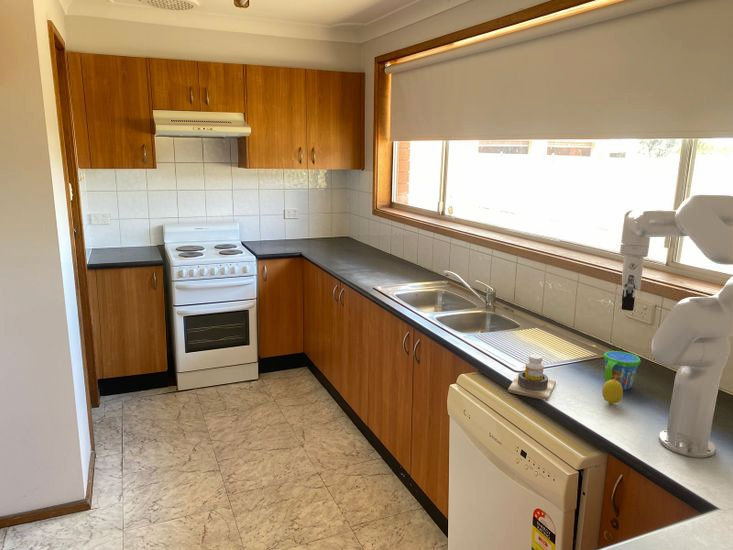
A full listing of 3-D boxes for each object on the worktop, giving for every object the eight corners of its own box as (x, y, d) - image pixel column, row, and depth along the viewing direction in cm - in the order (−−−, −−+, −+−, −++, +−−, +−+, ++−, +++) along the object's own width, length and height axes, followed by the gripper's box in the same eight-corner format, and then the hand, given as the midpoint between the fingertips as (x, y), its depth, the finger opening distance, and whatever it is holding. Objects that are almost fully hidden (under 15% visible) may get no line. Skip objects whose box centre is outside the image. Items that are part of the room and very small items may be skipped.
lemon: (624, 404, 165) (627, 379, 164) (616, 410, 162) (619, 384, 160) (605, 398, 169) (608, 374, 167) (597, 404, 165) (600, 379, 164)
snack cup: (618, 375, 187) (622, 347, 185) (648, 387, 178) (652, 357, 176) (588, 384, 179) (592, 355, 177) (617, 397, 171) (621, 366, 168)
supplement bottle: (526, 380, 179) (529, 351, 177) (543, 384, 176) (546, 355, 174) (521, 386, 174) (524, 357, 172) (539, 390, 172) (542, 360, 169)
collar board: (547, 400, 167) (549, 388, 166) (507, 391, 172) (508, 379, 171) (555, 384, 179) (556, 372, 178) (517, 376, 184) (519, 365, 184)
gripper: (649, 255, 155) (641, 314, 159) (647, 247, 170) (640, 301, 174) (619, 253, 158) (613, 311, 162) (620, 245, 173) (614, 298, 177)
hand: (627, 306), depth 168 cm, fingers open, 9 cm apart
